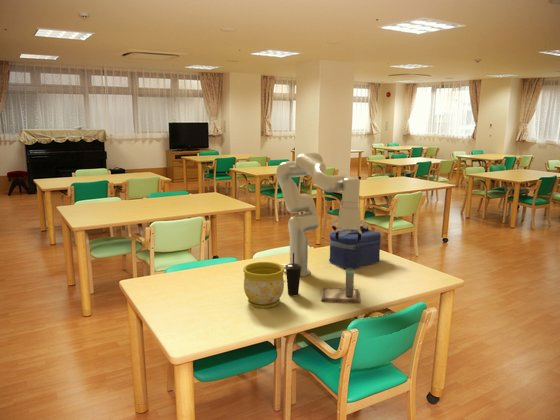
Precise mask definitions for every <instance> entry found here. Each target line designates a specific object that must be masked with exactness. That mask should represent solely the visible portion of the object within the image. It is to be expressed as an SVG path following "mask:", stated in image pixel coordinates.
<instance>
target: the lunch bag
mask: <svg viewBox="0 0 560 420" xmlns="http://www.w3.org/2000/svg"><path fill="white" fill-rule="evenodd" d="M363 227H364V225H362V224H360V229H362V228H363ZM358 233H359V232H358V231H357V230H345V229H340V230H339V237H338V241H337V238H335V236H336V232H335V231H333V232H330V233H329V239H330V240H329V260H328V261H329V262H330V264H332V265H336V266H338V267H342V268H343V269H346V268H353V269H354V270H356V269H360V268H363V267H367V266H369V265H372V264H377V263H379V262H380V257H381V256H380V252H381V243H382V241H381V239H382V238H381V235H382V234H381V232H380V231H376V230H375V231H374V230H370V229H369V226H368V227H367V228H366V230H365V231H364V232H363V233H362V234H361V240H359V242H358Z"/></svg>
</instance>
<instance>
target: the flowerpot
mask: <svg viewBox="0 0 560 420" xmlns="http://www.w3.org/2000/svg"><path fill="white" fill-rule="evenodd" d="M242 269H243V270H242V271H243V273H244V274H243V276H244V277H243V290H244V293H245V296H246V297H247V301H248V303H249V305H250V306H251V307H254V308H257V309H262V308H265V309H271V307H272V308H274V307H276V306H277V305H278V304H279V303H280V302H281V297H282V295H283V293H284V289H285V283H284V282H285V281H284V272H285V269H284V267H283V266H282V264H280V263H277V262H271V261H270V262H269V261H257V262H252V263H248V264H247V265H245V266H244V267H243V268H242Z"/></svg>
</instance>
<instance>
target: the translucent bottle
mask: <svg viewBox="0 0 560 420" xmlns="http://www.w3.org/2000/svg"><path fill="white" fill-rule="evenodd" d="M354 278H355V269H353V268H345V288H344V289H345V295H346V297H348V298H352V297H353V289H355V288H354V283H355V282H354V281H355V279H354Z"/></svg>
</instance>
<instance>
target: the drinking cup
mask: <svg viewBox="0 0 560 420" xmlns="http://www.w3.org/2000/svg"><path fill="white" fill-rule="evenodd" d="M287 264H288V265H287ZM287 264H285V265H286V266H285V268H286V269H285V273H286V275H285V276H286V286H287V287H286V288H287V294H288V296H290V297H296V296H298V295H299V292H300V281H301V276H300V273H301V268H302V266H301V265H299V264H296V263H294V253H293V263H291V264H289V263H287Z"/></svg>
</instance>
